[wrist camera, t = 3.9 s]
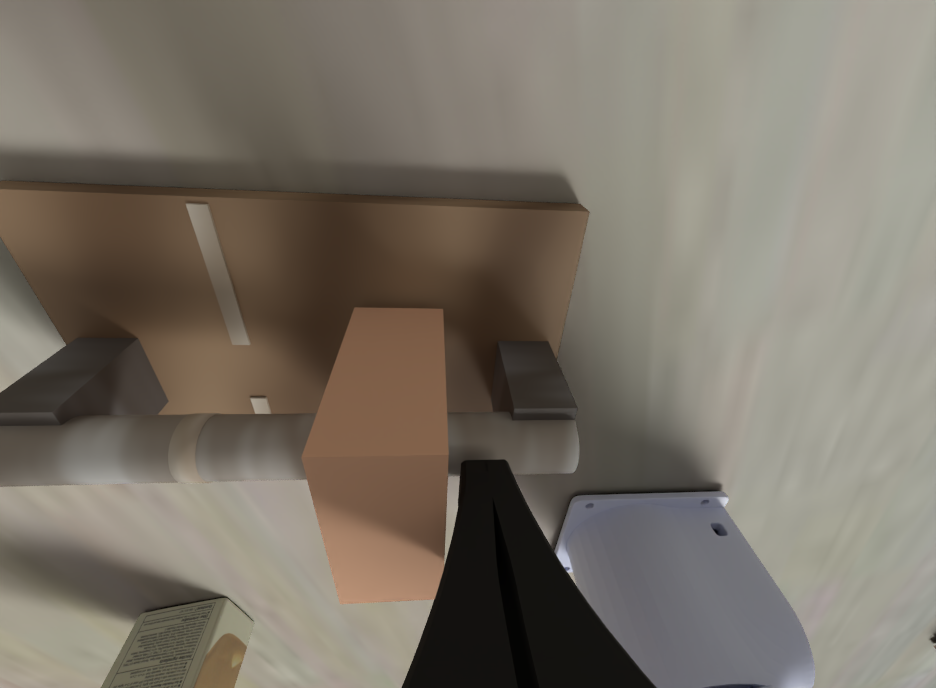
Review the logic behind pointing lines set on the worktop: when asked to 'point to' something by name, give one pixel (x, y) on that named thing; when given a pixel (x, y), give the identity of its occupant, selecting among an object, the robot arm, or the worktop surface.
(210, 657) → the skincare box
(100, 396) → the pipe rig
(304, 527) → the worktop surface
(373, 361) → the collar
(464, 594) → the robot arm
